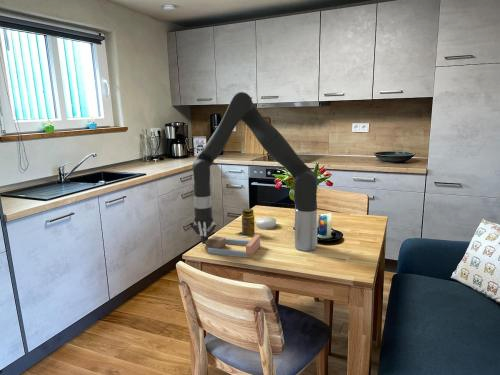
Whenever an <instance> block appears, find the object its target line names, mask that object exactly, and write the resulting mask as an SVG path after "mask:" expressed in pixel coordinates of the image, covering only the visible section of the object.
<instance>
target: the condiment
mask: <svg viewBox="0 0 500 375" xmlns="http://www.w3.org/2000/svg"><path fill="white" fill-rule="evenodd" d="M241 214H242V215H241V231H240V232H235V234H236V235H238V237H241V238H242V239H243V238H248V237H254V236H255V235H258V233H257V232H256V230H255V225H256V224H255V215H254V214H255V213H254V209H252V208H244V209H242V213H241Z"/></svg>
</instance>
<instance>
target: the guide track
mask: <svg viewBox="0 0 500 375" xmlns="http://www.w3.org/2000/svg"><path fill="white" fill-rule="evenodd" d="M225 238H226V237H225ZM226 245H237V246H245V250H237V249H233V250H232V249H229V248H228V249H227V248H222V249H218V248H208V250H207V254H211V255H219V256H229V257H240V258H249V259H251V258H252V257H253V256H254V255H255V254H256V251H258V249H259V248H260V247H261V235H260V234H257V235H253V236H252V238H251V239H250V240H249V239H239V238H238V239H237V238H226Z"/></svg>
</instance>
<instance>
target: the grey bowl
mask: <svg viewBox="0 0 500 375" xmlns="http://www.w3.org/2000/svg"><path fill="white" fill-rule="evenodd" d="M255 222H256V226H257V228H259V229H262V230H263V229H264V230H270V229H275V227H276V226H277V219H276V218H274V217H271V216H270V217H269V216H263V217H259V218H257V219H256V221H255Z"/></svg>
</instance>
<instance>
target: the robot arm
mask: <svg viewBox="0 0 500 375" xmlns="http://www.w3.org/2000/svg"><path fill="white" fill-rule="evenodd" d="M240 121H243V123H244V124H245V125H246V126H247V127H248V128H249V129H250V130H251V132H252V133H253V135H254V136H255V138H256V140H257V141H258V143H259V144H260V145H261V147H262V148H263V149H264V151H266V152H267V154H268V155H269V156H270V157H271V158H272V159H273V160H274V161H276V162H277V163H279V165H281V166H283V168H285V170H287V171H288V172H289V174H290V175H291V177H292V178H293V179H294V183H293V201H294V202H293V203H294V248H295V249H296V250H297V251H302V252H309V251H316V249H317V247H318V223H317V222H318V221H317V219H318V202H317V196H318V194H317V192H318V188H317V187H318V185H319V178H318V175H317V174H316V173H315V171H314V170H312V169H311V168H310V167H309V166H308V165H307V164H306V163H305V162H303V160H302V159H301V158H300V157H299V155H298V154H297V152H296V151H295V150H294V149H293V147H292V146H291V145H290V144H289V142H288V141H287V139H285V137H284V136H283V135H282V134H281V133H280V132H279V131H278V129H277V128H276V127H275V126H273V125H272V124H271V123H270V122H269V121H267V120H266V119H265V118H264V116H262V114H261V113H260V112H259V110H258V108H256V106H255V104H254V102H253V99H252V97H251V96H250V95H249V94H248V93H247V92H244V91H239V92H236V93H235V94H233V95H232V97H231V98H230V101H229V104H228V106H227V109H226V111H225V113H224V115H223V117H222V119H221V121H220V123H219V124H218V125H217V127H216V129H215V131H214V132H213V133H212V134H211V137H210V138H209V140H208V141H207V142H206V144H205V146H204V148H203V150H201V152H200V153H199V155H198V156H197V157H195V158H196V159H195V160H194V161H193V164H192V172H193V182H194V184H193V196H194V197H193V207H194V209H193V210H194V211H193V212H194V220H193V221H192V222H190V223H189V225H190V227H191V228H192V229H193V232H195V234H196V235H199V236H200V242H201V244H203V245H206V244H205V241H206V240H208V239H209V236H211V235H212V234H213V233H214V231H215V230H216V229H217V227H218V226H219V224H218V223H216V222H214V218H213V206H212V204H213V203H212V195H211V167H212V164H213V163H214V162H215V160H216V159H218V158H219V156H220V154H221V153H222V151H223V150H224V149H225V147H226V145H227V143H228V141H229V139H230V137H231V136H232V133H233V131H234V129H235V128H236V126H237V124H238V123H239V122H240Z"/></svg>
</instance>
